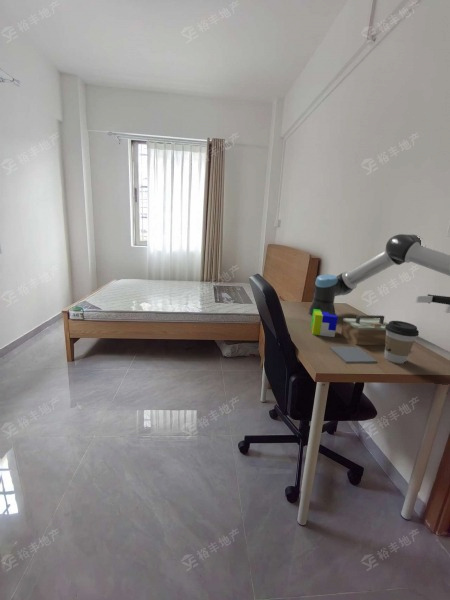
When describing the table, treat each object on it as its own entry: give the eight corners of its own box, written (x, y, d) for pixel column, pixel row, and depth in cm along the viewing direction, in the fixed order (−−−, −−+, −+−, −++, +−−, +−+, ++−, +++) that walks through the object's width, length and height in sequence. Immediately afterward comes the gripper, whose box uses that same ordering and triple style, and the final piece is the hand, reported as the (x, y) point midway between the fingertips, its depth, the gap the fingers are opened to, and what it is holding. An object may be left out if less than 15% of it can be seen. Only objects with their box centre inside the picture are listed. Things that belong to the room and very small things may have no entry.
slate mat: (329, 348, 118) (329, 346, 118) (357, 348, 120) (357, 346, 119) (345, 362, 105) (346, 361, 105) (376, 362, 107) (377, 361, 107)
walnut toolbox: (340, 333, 135) (344, 311, 132) (375, 333, 138) (379, 311, 135) (355, 344, 123) (360, 320, 120) (393, 344, 125) (399, 320, 122)
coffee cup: (373, 352, 116) (380, 318, 112) (400, 353, 116) (408, 320, 112) (388, 365, 105) (396, 329, 101) (417, 367, 105) (427, 330, 101)
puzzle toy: (334, 337, 131) (337, 317, 128) (312, 334, 132) (315, 314, 130) (330, 329, 140) (334, 311, 138) (310, 327, 142) (313, 309, 139)
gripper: (511, 324, 97) (458, 324, 95) (448, 304, 121) (404, 304, 119) (518, 304, 95) (464, 303, 93) (452, 288, 119) (408, 287, 117)
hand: (430, 303), depth 106 cm, fingers open, 13 cm apart
